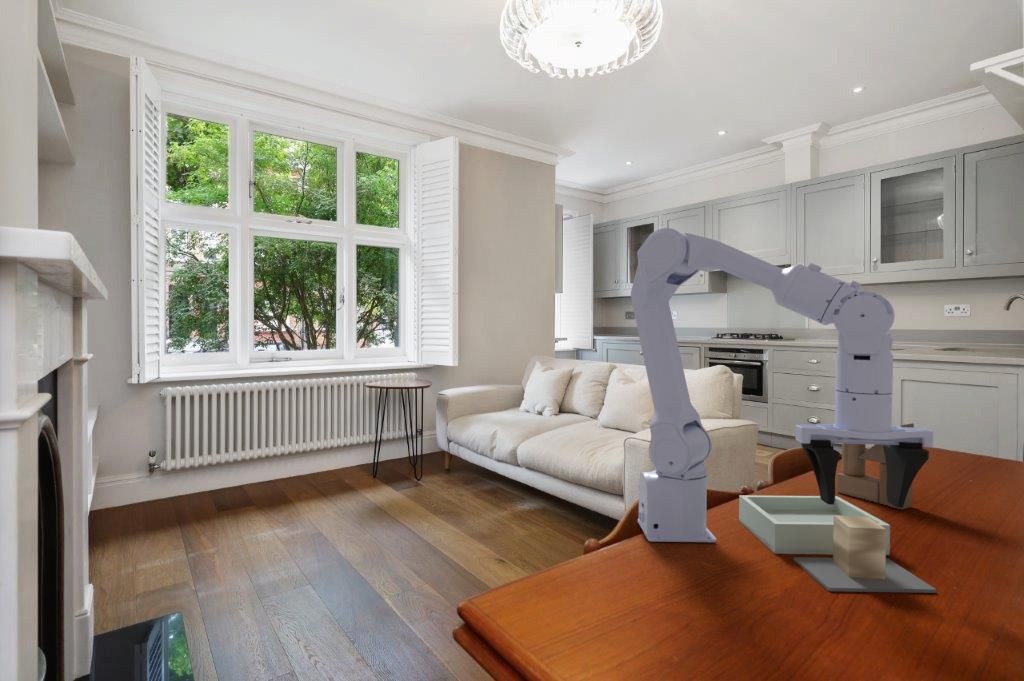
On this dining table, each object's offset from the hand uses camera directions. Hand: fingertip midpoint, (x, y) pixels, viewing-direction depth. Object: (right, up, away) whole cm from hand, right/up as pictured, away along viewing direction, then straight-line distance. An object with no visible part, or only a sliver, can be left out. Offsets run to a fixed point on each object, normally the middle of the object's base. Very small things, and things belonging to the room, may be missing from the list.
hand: (861, 503), depth 64 cm
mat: (0, -9, 0) cm, 9 cm away
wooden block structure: (+21, -8, +29) cm, 36 cm away
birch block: (0, -8, +1) cm, 8 cm away
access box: (0, -9, +12) cm, 15 cm away
